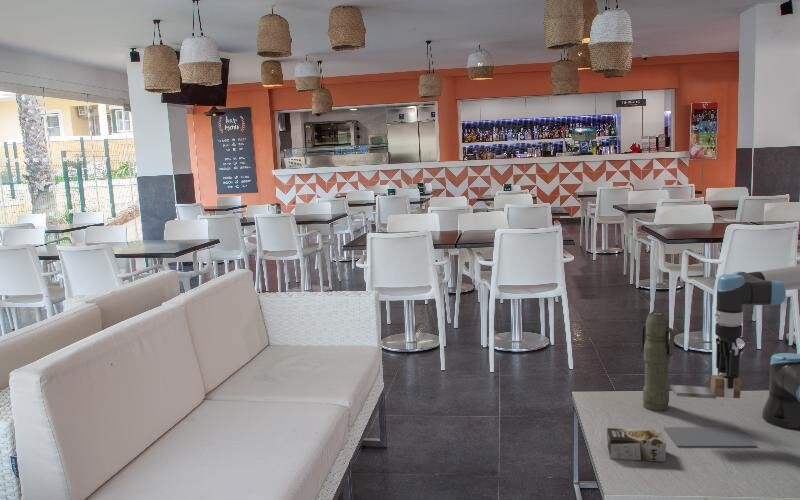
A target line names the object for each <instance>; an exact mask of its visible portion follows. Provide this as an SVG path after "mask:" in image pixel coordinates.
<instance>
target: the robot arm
mask: <svg viewBox="0 0 800 500" xmlns="http://www.w3.org/2000/svg"><path fill="white" fill-rule="evenodd" d="M799 289H800V265H799V264H798V265H795V266H794V265H793V266H787V267H779V268H774V269H773V268H772V269H767V270H760V271H759V270H758V271H751V272H746V271H739V270H738V271H734V272H733V273H724V274H720V275H719V276H718V277H717V282H716V308H715V309H716V311H715V312H716V313H714V317H715V322H716V323H715V326H714V327H715V328H714V329H715V330H714V334H715V335H716V336H717V337H716V339H715V343H716V351H715V352H716V353H715V354H716V356H715V357H716V363H715V367H716V369H717V371H718V372H719V374H718V375H721V376H724V397H723V398H724V399H726V398H727V399H731V398H732V399H735V398H734V378H738V377H739V371H740V370H739V369H740V356H741V353H742V350H741V349H740V348H738V342H737V339H740V338H741V337H742V335H743V325H742V324H744V323H743V321H744V318H743V317H744V306H774V305H775V306H776V305H781V304H783V303H784V302H785V300H786V296H787V291H791V290H799ZM769 367H770V368H769V369H770V370H769V389H768V390H769V391H768V397H767V399H766V402H765V403H764V406H763V408H762V410H761V412H762V414H761V415H762V419H763V420H764V421H766V422H767V423H770V424H771V425H774V426H778V427H781V428H786V429H792V430H793V429H794V430H800V353H791V352H790V353H789V352H782V353H781V352H780V353H774V354H773V355H772V356H771V357H770V363H769Z"/></svg>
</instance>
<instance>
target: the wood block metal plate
mask: <svg viewBox="0 0 800 500" xmlns="http://www.w3.org/2000/svg"><path fill="white" fill-rule="evenodd" d="M710 376H711V378H710V387H708V386H695V385H694V386H693V385H679V384H669V390H670V391H672V393H673V394H674V395H675V396H676V397H684V398H687V397H688V398H697V399H699V398H700V399H701V398H702V399H717V398H724V376H721V375H719V374H717V375H716V374H711V375H710ZM742 385H743V380H742V379H741V378H740V377H739V376H738V378H734V398H733V399H740V398H741V391H742Z"/></svg>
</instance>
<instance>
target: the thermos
mask: <svg viewBox="0 0 800 500" xmlns="http://www.w3.org/2000/svg"><path fill="white" fill-rule="evenodd" d="M645 322H646V323H644V324H642V325H641V326H640V351H641V352H642V354H643V361H644V386H643V389H642V401H643V405H642V406H643V408H644V409H646V410H648V411H652V412H657V413H658V412H661V413H662V412H666V411H668V410H669V403H670V387H669V363H670V361H671V360H670V359H671V357H672V356H674V355H675V354H674V350H675V349H674V348H675V347H674V346H675V331H674V330H673V329H674V328H672V327H670V324H669V323H670V321H669V317H668V314H667V313H665V312H661V311H651V312H649V313H648V316H647V318H646V321H645ZM645 335H646V336H645Z"/></svg>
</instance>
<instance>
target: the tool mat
mask: <svg viewBox="0 0 800 500" xmlns="http://www.w3.org/2000/svg"><path fill="white" fill-rule="evenodd" d="M663 430H664V431H665V432H666V433H667V435H668V437H669V438H670V439H671V440H672V442H673V443H674V444H675V446H676V447H677V448H758V445H757V444H756V443H755V442H754V441H753V440H752V439H751V438H750V437H749V436H748V435H747V434H746V433H744V431H743V430H742V429H741V428H739V427H738V426H737V427H736V426H734V427H733V426H732V427H731V426H723V427H720V426H719V427H718V426H717V427H716V426H713V427H711V426H710V427H709V426H707V427H706V426H705V427H704V426H699V427H697V426H695V427H694V426H690V427H689V426H688V427H687V426H683V427H682V426H680V427H679V426H678V427H677V426H676V427H675V426H674V427H673V426H672V427H671V426H669V427H668V426H666V427H665V426H664V427H663Z"/></svg>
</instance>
